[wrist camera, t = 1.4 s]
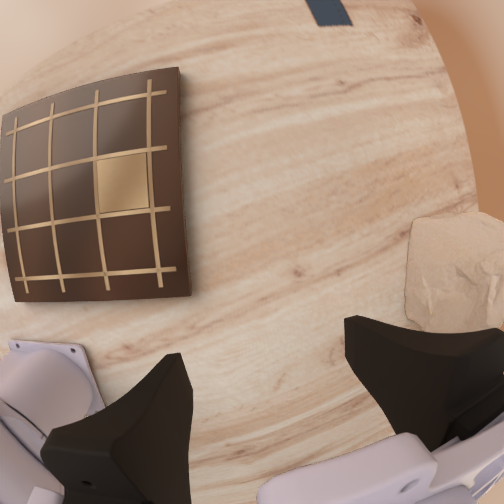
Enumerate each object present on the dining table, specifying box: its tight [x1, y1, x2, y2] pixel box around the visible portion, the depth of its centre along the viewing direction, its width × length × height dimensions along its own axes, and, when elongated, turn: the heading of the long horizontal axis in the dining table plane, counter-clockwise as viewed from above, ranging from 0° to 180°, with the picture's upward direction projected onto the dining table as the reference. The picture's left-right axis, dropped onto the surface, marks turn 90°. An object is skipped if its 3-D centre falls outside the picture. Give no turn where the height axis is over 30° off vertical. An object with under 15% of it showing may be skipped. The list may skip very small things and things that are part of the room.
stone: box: [405, 212, 504, 333], centre depth 16 cm, size 10×5×12 cm, turn 171°
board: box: [0, 67, 192, 302], centre depth 17 cm, size 16×16×1 cm
